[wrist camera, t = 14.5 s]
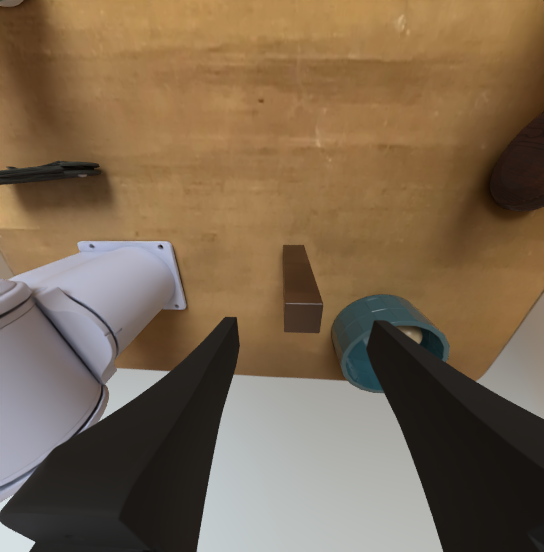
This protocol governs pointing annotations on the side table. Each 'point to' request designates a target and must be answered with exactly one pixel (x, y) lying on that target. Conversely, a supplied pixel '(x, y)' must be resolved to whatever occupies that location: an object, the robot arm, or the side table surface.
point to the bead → (412, 332)
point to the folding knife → (48, 172)
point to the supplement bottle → (10, 3)
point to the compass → (521, 170)
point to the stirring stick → (300, 292)
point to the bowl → (357, 327)
